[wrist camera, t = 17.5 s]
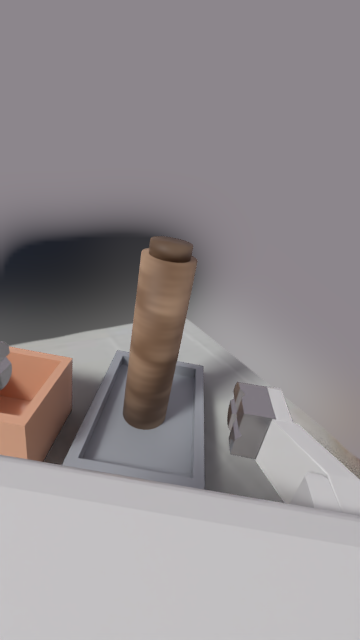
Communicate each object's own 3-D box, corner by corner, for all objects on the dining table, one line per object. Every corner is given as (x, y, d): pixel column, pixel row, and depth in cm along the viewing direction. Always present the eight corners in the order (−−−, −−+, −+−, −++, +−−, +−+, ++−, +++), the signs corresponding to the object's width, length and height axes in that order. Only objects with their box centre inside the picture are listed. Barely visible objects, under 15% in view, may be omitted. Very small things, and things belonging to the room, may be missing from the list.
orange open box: (71, 409, 33) (72, 358, 30) (29, 485, 25) (24, 425, 22) (-9, 395, 33) (-17, 341, 30) (-78, 467, 25) (-98, 404, 22)
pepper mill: (167, 401, 35) (200, 241, 27) (162, 433, 31) (200, 254, 22) (128, 394, 35) (148, 231, 27) (117, 425, 31) (138, 242, 22)
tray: (199, 380, 42) (203, 365, 41) (198, 509, 26) (204, 491, 24) (115, 364, 41) (117, 350, 40) (61, 485, 25) (61, 466, 24)
